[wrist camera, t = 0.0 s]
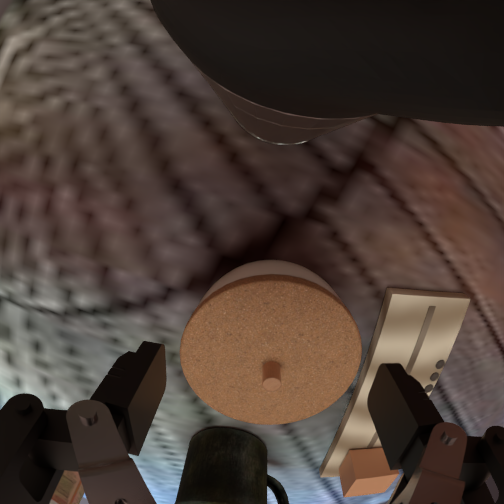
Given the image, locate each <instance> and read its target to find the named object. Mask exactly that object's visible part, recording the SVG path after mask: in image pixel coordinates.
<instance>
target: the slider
mask: <svg viewBox="0 0 504 504" xmlns="http://www.w3.org/2000/svg"><path fill="white" fill-rule="evenodd" d="M339 474H340V480H341V485H342V491H343V496H344V497H351V496H360V495H368V494H375V493H382V492H385V491H386V489H387V488H388V487H389V486H390V485H391V483H392V482H393V481H394V480H395V478H396V477H397V476H398V475H399V472H398V470H391V471H390V468H389V465H388V462H387V459H386V456H385V454H384V451H383V448H373V449H360V450H349V452H348V454H347V456H346V458H345V459H344V461H343V463H342V465H341V466H340V468H339Z"/></svg>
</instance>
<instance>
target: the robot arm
mask: <svg viewBox="0 0 504 504" xmlns="http://www.w3.org/2000/svg"><path fill="white" fill-rule="evenodd" d="M151 3H152V5H153V8H154V10H155V12H156V14H157V16H158V18H159V20H160V21H161V23H162V24H163V26H164V27H165V29H166V30H167V32H168V33H169V35H170V36H171V37H172V39H173V40H174V41H175V42H176V44H177V45H178V46H179V47H180V49H181V50H182V51H183V52H184V53H185V54H186V56H187V57H188V58H189V59H190V61H191V62H192V63H193V64H194V66H195V67H196V68H197V69H198V71H199V72H200V73H201V74H202V76H203V77H204V78H205V79H206V81H207V82H208V83H209V84H210V86H211V87H212V88H213V90H214V91H215V92H216V94H217V95H218V96H219V98H220V99H221V100H222V102H223V103H224V105H225V106H226V107H227V109H228V110H229V111H230V113H231V114H232V116H233V117H234V118H235V120H236V121H237V122H238V123H239V125H240V126H241V127H242V128H243V129H244V130H245V131H246V132H248V133H249V134H251V135H252V136H254V137H255V138H257V139H260V140H262V141H264V142H267V143H272V144H276V145H293V144H299V143H303V142H307V141H308V140H310V139H313V138H316V137H318V136H321V135H324V134H326V133H329V132H331V131H334V130H336V129H339V128H342V127H344V126H347V125H350V124H352V123H355V122H357V121H360V120H363V119H365V118H368V117H371V116H374V115H376V114H383V115H391V116H399V117H406V118H413V119H420V120H428V121H436V122H443V123H454V124H464V125H479V126H504V0H151ZM165 387H166V360H165V346H164V344H159V343H153V342H147V341H143V342H142V344H141V345H140V347H139V348H138V350H137V352H136V353H135V352H130V351H128V352H127V353H125V354H124V355H122V356H120V357H119V358H118V359H117V360H116V362H115V363H114V365H113V366H112V368H111V369H110V370H109V372H108V375H106V376H105V378H104V379H103V381H102V382H101V383H100V385H99V386H98V388H97V389H96V391H95V392H94V394H93V395H92V397H91V398H90V400H82V401H79V402H76V403H74V404H73V405H71V406H70V407H69V409H68V410H55V409H46V408H44V407H43V404H42V402H41V400H40V399H39V398H38V397H36V396H34V395H32V394H18V395H15V396H13V397H12V398H10V399H9V400H8V401H7V402H6V404H5V405H4V406H3V407H2V409H1V410H0V504H49V503H50V501H51V499H52V497H53V494H54V492H55V490H56V488H57V486H58V483H59V481H60V479H61V477H62V475H63V473H64V471H65V470H66V471H76V472H78V473H79V477H80V480H81V483H82V486H83V489H84V492H85V494H86V497H87V500H88V503H89V504H156V502H155V500H154V498H153V497H152V495H151V493H150V491H149V489H148V488H147V486H146V484H145V482H144V480H143V478H142V476H141V474H140V472H139V470H138V468H137V466H136V464H135V463H134V461H133V459H132V458H130V457H129V455H128V453H129V454H133V455H136V456H139V453H140V451H141V448H142V446H143V443H144V441H145V438H146V436H147V433H148V431H149V428H150V426H151V423H152V421H153V419H154V416H155V414H156V411H157V409H158V406H159V404H160V401H161V399H162V397H163V394H164V391H165ZM367 407H368V410H369V413H370V416H371V418H372V421H373V424H374V426H375V429H376V432H377V434H378V437H379V440H380V442H381V445H382V448H383V451H384V454H385V456H386V459H387V462H388V465H389V468H390V471H391V470H398V469H403V472H404V473H403V474H402V476H401V477H400V479H399V481H398V483H397V485H396V487H395V489H394V491H393V493H392V495H391V497H390V499H389V501H388V503H387V504H504V428H503V427H501V426H492V427H489V428H488V429H487V430H486V432H485V433H484V435H483V436H482V437H474V436H466V433H465V432H464V430H463V429H462V428H461V427H459V426H458V425H456V424H453V423H449V422H444V420H443V419H442V417H441V416H440V414H439V412H438V411H437V409H436V407H435V406H434V404H433V402H432V401H431V400H429V396H428V394H427V393H425V390H424V388H423V387H422V385H421V383H420V382H419V381H417V380H416V379H415V378H414V377H412V376H411V375H408V374H407V372H406V371H405V369H404V368H403V366H402V365H401V364H400V363H382V364H380V366H379V367H378V370H377V373H376V375H375V378H374V381H373V383H372V386H371V389H370V391H369V394H368V398H367ZM490 475H492V477H493V479H494V481H495V483H496V485H497V487H498V490H499V497H498V500H497V502H496V503H494V500H493V498H492V496H491V494H490V491H489V489H488V487H487V485H486V483H485V481H486V480H487V479H488V477H489V476H490Z"/></svg>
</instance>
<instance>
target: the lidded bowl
mask: <svg viewBox="0 0 504 504" xmlns="http://www.w3.org/2000/svg"><path fill="white" fill-rule="evenodd" d="M361 354H362V344H361V337H360V333H359V330H358V327H357V325H356V323H355V321H354V319H353V317H352V315H351V314H350V312H349V310H348V309H347V308H346V306H345V305H344V304H343V302H342V301H341V299H340V298H339V296H338V295H337V294H336V292H335V291H334V290H333V289H332V288H331V286H330V285H329V284H328V283H327V282H326V281H324V280H323V279H322V278H321V277H320V276H318V275H317V274H315V273H314V272H312V271H310V270H309V269H307V268H305V267H303V266H300V265H298V264H295V263H292V262H287V261H283V260H261V261H255V262H251V263H247V264H244V265H242V266H239V267H237V268H235V269H233V270H232V271H230V272H228V273H227V274H225V275H224V276H223V277H221V278H220V279H219V280H218V281H217V282H216V283H214V284H213V286H212V287H211V288H210V289H209V290H208V292H207V293H206V294H205V295H204V296H203V298H202V299H201V301H200V303H199V305H198V306H197V308H196V310H195V311H194V312H193V314H192V316H191V317H190V319H189V321H188V323H187V325H186V327H185V330H184V333H183V336H182V339H181V345H180V360H181V365H182V369H183V372H184V375H185V377H186V379H187V381H188V383H189V385H190V386H191V387H192V389H193V390H194V391H195V393H196V394H197V395H198V396H199V397H200V398H201V399H202V400H203V401H204V402H205V403H207V404H208V405H209V406H210V407H212V408H213V409H215V410H216V411H218V412H220V413H222V414H224V415H226V416H229V417H231V418H233V419H236V420H240V421H244V422H248V423H254V424H269V425H271V424H285V423H290V422H295V421H298V420H302V419H305V418H308V417H310V416H312V415H315V414H317V413H319V412H321V411H322V410H324V409H326V408H327V407H329V406H330V405H331V404H333V403H334V402H335V401H336V400H338V399H339V398H340V397H341V396H342V395H343V394H344V393H345V391H346V390H347V389H348V387H349V386H350V384H351V383H352V381H353V380H354V378H355V376H356V374H357V371H358V368H359V365H360V361H361Z"/></svg>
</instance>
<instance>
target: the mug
mask: <svg viewBox="0 0 504 504" xmlns="http://www.w3.org/2000/svg"><path fill="white" fill-rule="evenodd" d="M267 486H268V487H269V488H270V489H271V490H272V491H273V493H274V494H275V497H276V499H277V502H278V504H289V501H288V496H287V494H286V492H285V489H284V488H283V486H282V485H281V483H280V482H279V481H277V480H276V479H275V478H273V477H271V476H270V475H268V474H267V449H266V447H265V446H264V444H263V443H262V442H261V441H260V440H259V439H258V438H256V437H255V436H253V435H251V434H249V433H247V432H244V431H241V430H236V429H231V428H212V429H207V430H204V431H202V432H200V433H198V434H197V435H195V436H194V437H193V438H192V439H191V441H190V444H189V448H188V452H187V456H186V460H185V465H184V469H183V473H182V477H181V481H180V485H179V490H178V494H177V498H176V502H175V504H267Z"/></svg>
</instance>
